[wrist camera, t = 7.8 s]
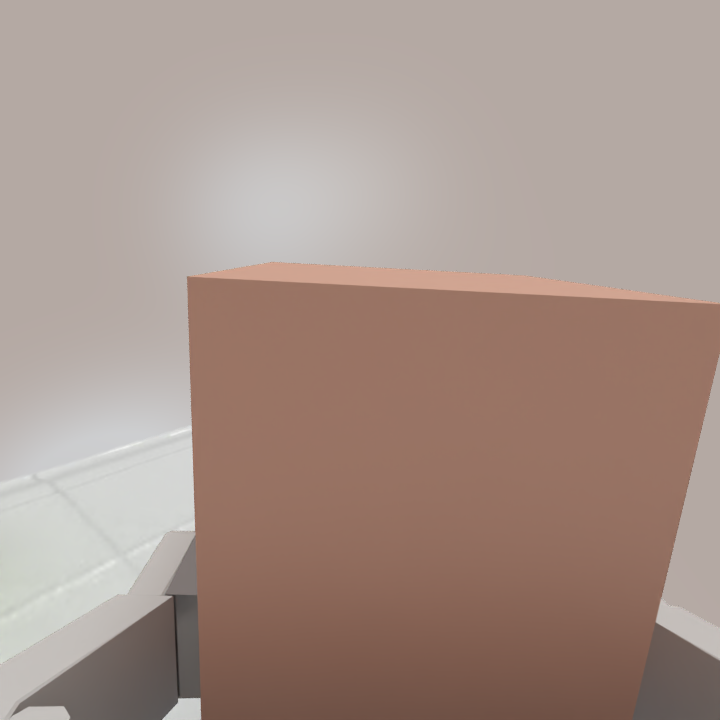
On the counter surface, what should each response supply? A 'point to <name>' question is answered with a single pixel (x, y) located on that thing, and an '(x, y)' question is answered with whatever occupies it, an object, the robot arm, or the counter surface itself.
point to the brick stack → (435, 489)
